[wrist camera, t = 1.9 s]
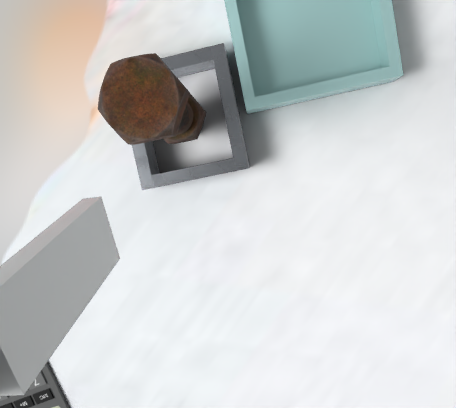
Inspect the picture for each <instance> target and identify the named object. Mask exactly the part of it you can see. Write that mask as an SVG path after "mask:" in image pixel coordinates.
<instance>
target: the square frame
mask: <svg viewBox="0 0 456 408" xmlns="http://www.w3.org/2000/svg"><path fill="white" fill-rule="evenodd" d="M161 59H162V61H163V62H164V63H165V64H166V65H167V66H168V68H169V69H170V70H171V71H172V72H173V73H174V75H175V76H176V77H181V76H185V75H189V74H194V73H198V72H202V71H206V70H210V69H214V68H215V70H216V75H217V80H218V85H219V90H220V94H221V99H222V104H223V109H224V114H225V119H226V124H227V129H228V134H229V139H230V143H231V148H232V153H233V158H231V159H227V160H222V161H217V162H212V163H208V164H203V165H198V166H193V167H189V168H184V169H179V170H174V171H170V172H165V173H160V172H159V167H158V163H157V158H156V154H155V150H154V145H153V141H150V142H145V143H140V144H135V145H132V148H133V152H134V156H135V161H136V165H137V169H138V174H139V178H140V182H141V187H142V190H145V189H150V188H155V187H160V186H165V185H169V184H174V183H179V182H184V181H189V180H194V179H199V178H203V177H208V176H213V175H218V174H223V173H228V172H233V171H237V170H242V169H247V168H250V165H249V160H248V155H247V150H246V145H245V140H244V135H243V130H242V125H241V120H240V115H239V110H238V105H237V100H236V95H235V90H234V85H233V80H232V75H231V70H230V65H229V60H228V55H227V51H226V48H225V46H224V43H222V44H218V45H214V46H210V47H206V48H202V49H198V50H194V51H190V52H186V53H182V54H178V55H174V56H170V57H166V58H161Z"/></svg>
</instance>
